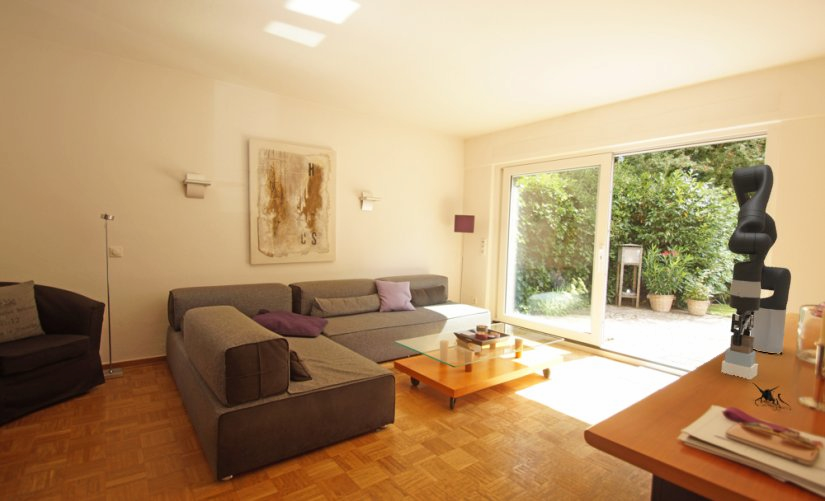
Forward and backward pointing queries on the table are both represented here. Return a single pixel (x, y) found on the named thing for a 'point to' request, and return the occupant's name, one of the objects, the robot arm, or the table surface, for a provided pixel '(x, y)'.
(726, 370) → the base block
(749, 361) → the grey rectangular block
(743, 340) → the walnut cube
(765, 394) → the creature
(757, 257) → the robot arm
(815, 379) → the table surface
